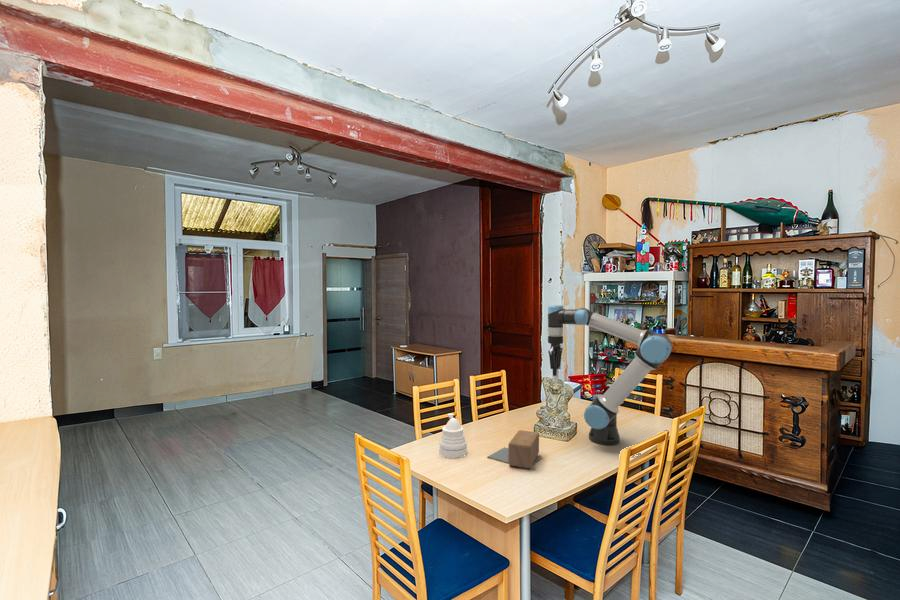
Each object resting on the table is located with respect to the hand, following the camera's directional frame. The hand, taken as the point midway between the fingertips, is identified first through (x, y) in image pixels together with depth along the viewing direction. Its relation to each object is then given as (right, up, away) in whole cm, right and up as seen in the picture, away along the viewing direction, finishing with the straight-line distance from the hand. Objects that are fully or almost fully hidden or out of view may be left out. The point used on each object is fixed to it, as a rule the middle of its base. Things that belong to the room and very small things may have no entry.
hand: (555, 381), depth 226 cm
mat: (-24, -31, -23) cm, 45 cm away
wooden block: (-17, -25, -17) cm, 34 cm away
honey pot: (-52, -31, -17) cm, 63 cm away
